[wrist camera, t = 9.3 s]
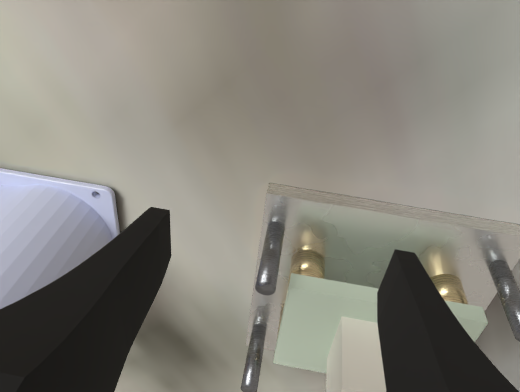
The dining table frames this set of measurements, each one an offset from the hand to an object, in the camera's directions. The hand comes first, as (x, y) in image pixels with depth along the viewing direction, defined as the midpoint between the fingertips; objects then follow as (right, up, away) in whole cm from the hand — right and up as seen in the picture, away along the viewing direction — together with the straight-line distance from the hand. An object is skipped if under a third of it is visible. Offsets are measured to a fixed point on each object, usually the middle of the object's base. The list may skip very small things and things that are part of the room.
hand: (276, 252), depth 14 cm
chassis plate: (+6, -4, +14) cm, 16 cm away
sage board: (+6, -6, +11) cm, 14 cm away
